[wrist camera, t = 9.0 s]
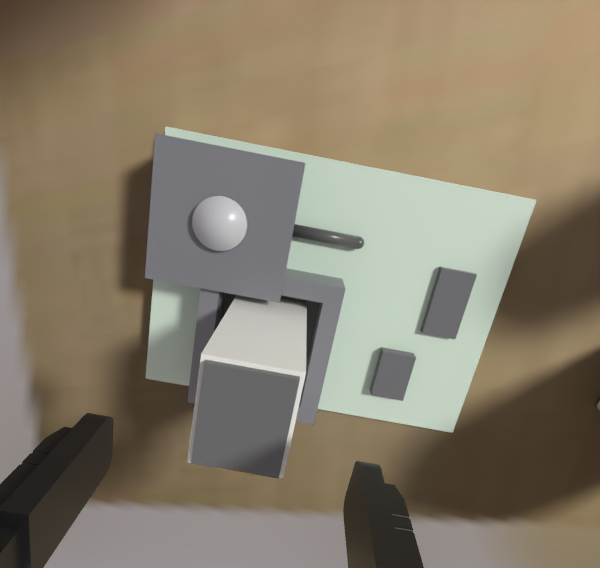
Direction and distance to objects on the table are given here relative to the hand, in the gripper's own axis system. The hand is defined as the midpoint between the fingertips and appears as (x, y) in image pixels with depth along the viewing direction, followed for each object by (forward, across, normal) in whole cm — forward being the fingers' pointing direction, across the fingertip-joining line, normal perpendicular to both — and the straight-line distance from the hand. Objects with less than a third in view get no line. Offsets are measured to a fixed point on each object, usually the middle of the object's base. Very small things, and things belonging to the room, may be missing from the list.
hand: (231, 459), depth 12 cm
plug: (+10, 0, 0) cm, 11 cm away
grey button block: (+11, +1, -6) cm, 12 cm away
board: (+12, -3, -2) cm, 13 cm away
